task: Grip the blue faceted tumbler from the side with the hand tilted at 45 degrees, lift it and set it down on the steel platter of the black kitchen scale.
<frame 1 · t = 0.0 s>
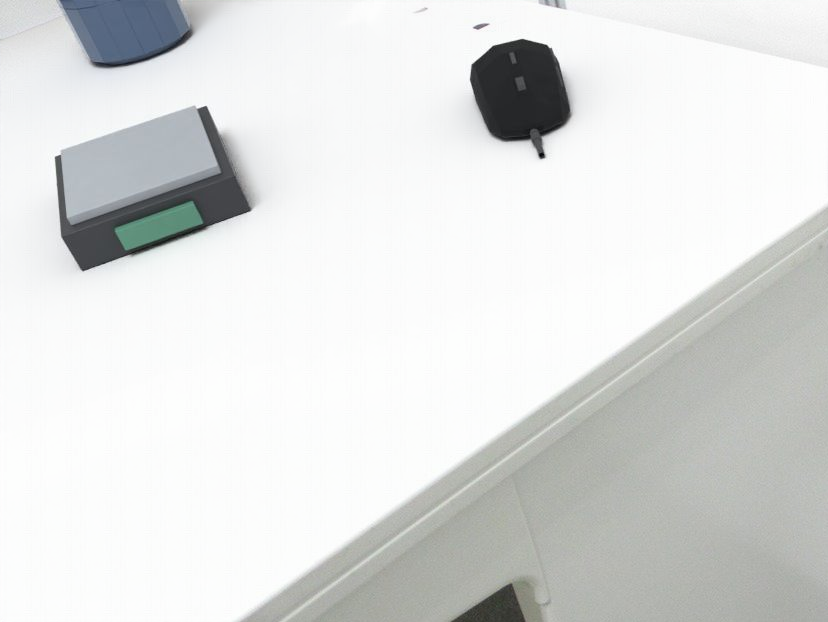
scale: (157, 198, 74), on the table
blue faceted tumbler: (141, 46, 100), on the table
gaming mouse: (527, 116, 74), on the table
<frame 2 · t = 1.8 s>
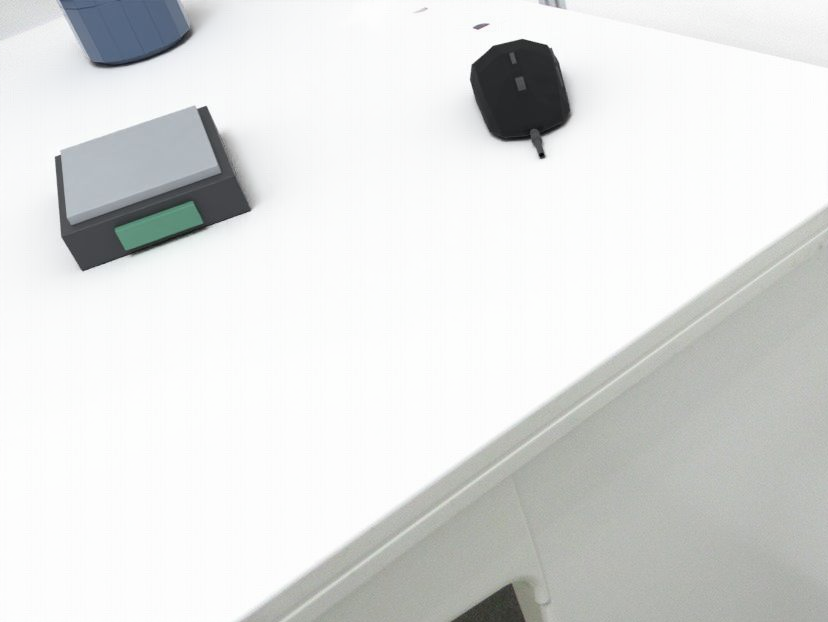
nothing on the table moved.
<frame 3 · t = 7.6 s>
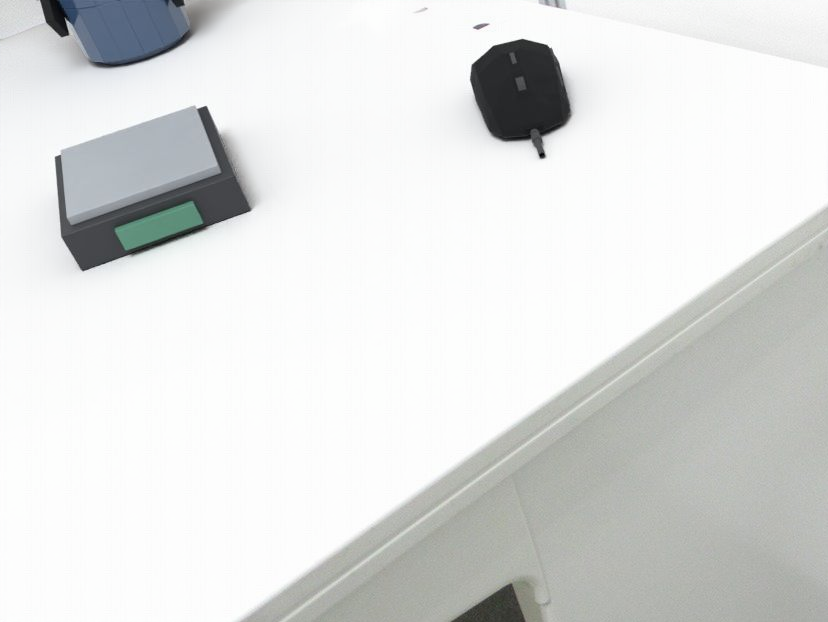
hand: (116, 13, 95), 4 cm above the table, tool tilted 45°, fingers closed on blue faceted tumbler, 10 cm apart
blue faceted tumbler: (141, 46, 100), on the table, touching gripper
everything else where it was.
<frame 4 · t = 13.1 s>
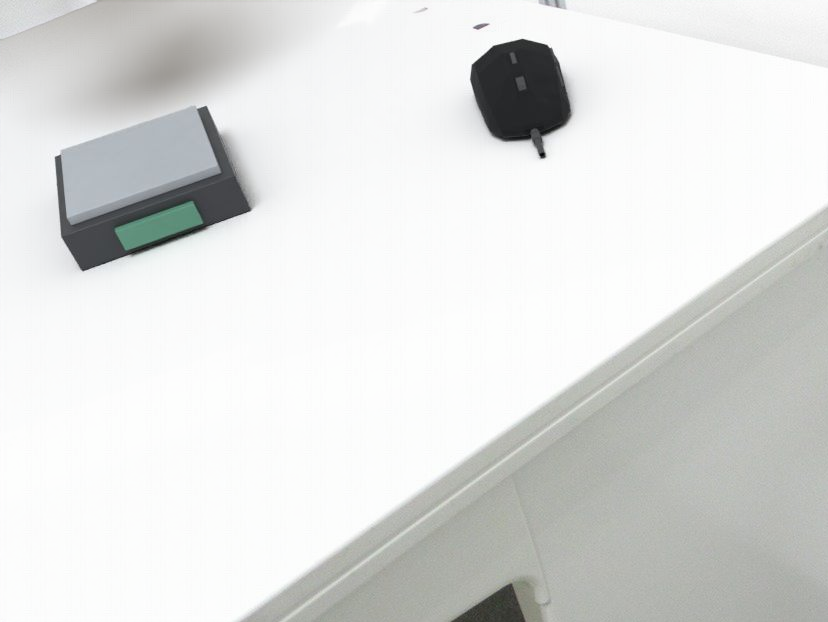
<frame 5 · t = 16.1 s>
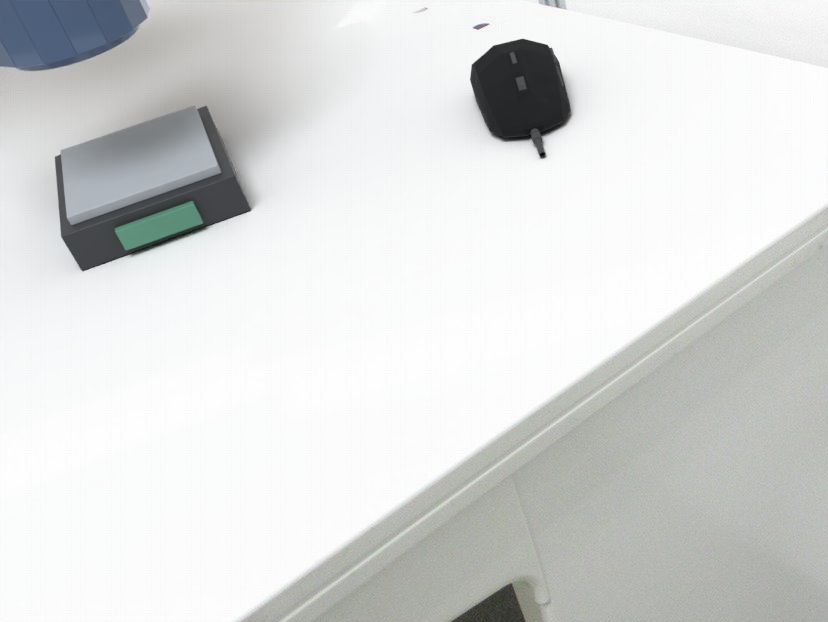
blue faceted tumbler: (76, 43, 67), point 11 cm above the table, touching gripper
everything else where it was.
when the fingers open (7 cm above the table, at t = 18.7 s): blue faceted tumbler stays where it is, resting on scale.
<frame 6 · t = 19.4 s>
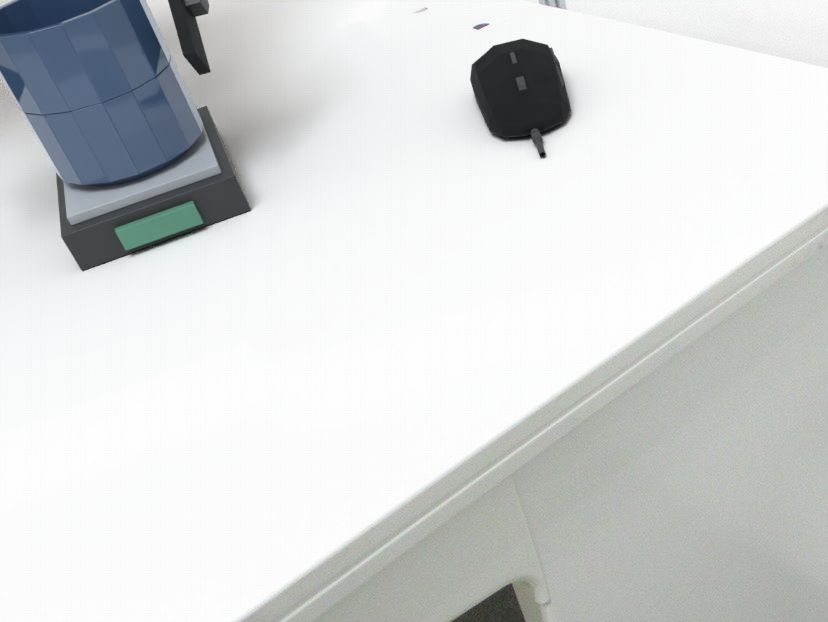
hand: (89, 93, 67), 8 cm above the table, tool tilted 45°, fingers open, 13 cm apart
blue faceted tumbler: (135, 156, 72), point 3 cm above the table, touching scale
everything else where it was.
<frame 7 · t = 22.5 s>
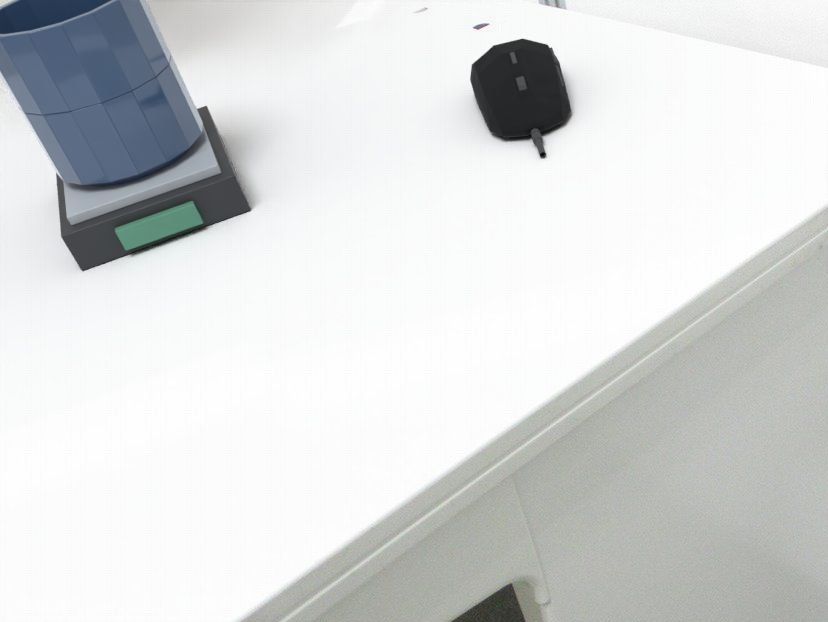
nothing on the table moved.
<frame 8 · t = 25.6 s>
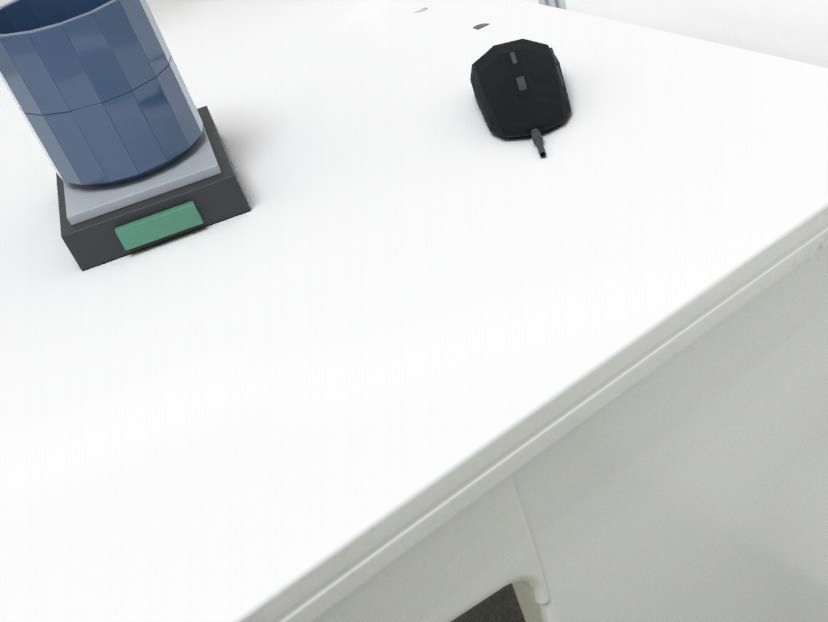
nothing on the table moved.
at the end: blue faceted tumbler inside the target area on the scale (0.0 cm from its centre), point 3.1 cm above the scale's base; blue faceted tumbler tilted 0°; the gripper is holding nothing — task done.
